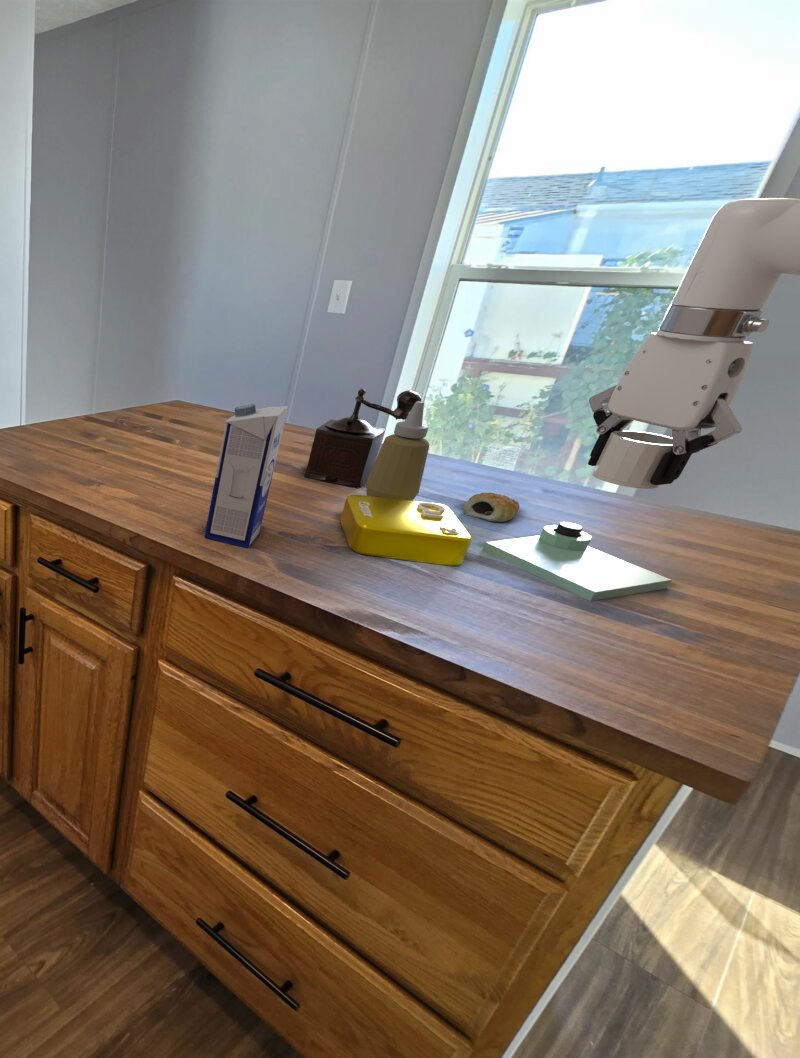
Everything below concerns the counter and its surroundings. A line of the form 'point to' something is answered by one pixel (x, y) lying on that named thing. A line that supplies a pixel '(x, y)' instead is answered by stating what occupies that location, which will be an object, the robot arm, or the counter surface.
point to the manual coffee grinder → (352, 443)
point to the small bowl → (632, 458)
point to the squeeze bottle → (401, 459)
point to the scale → (576, 565)
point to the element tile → (404, 530)
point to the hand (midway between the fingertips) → (628, 472)
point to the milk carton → (244, 474)
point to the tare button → (569, 529)
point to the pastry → (491, 507)
